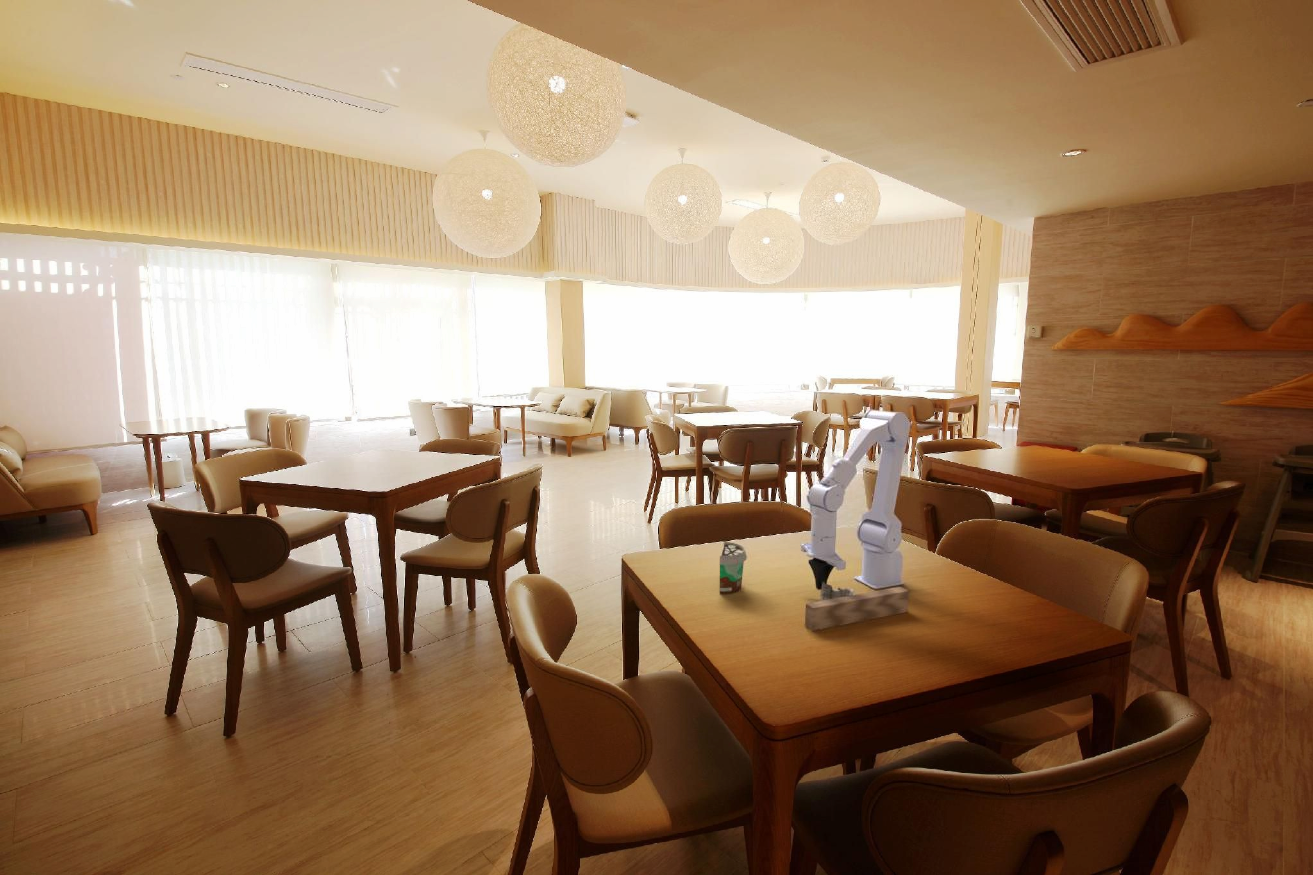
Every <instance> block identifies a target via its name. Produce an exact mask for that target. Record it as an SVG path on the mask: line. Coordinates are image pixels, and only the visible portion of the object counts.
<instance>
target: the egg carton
mask: <svg viewBox="0 0 1313 875" xmlns="http://www.w3.org/2000/svg"><path fill="white" fill-rule="evenodd" d="M819 595H820V596H819V597H820V601H824V600H829V599H835V598H840V597H846V596H852V595H856V594H855V589H852V588H851V589H850V588H844V589H843V588H841V587H837V589H833V586H832V585H831V584H829V583H827V585H826V584H825V583H824V582H823V583H822V589H821V590H820V594H819Z"/></svg>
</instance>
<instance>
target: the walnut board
mask: <svg viewBox="0 0 1313 875" xmlns="http://www.w3.org/2000/svg"><path fill="white" fill-rule="evenodd" d="M909 596H910V590H908V589H907V588H904V587H902V586H897V587H891V588H886V589H881V590H876V591H875V590H874V591H870V592H864V593H858V594H855V595H852V596H846V597H840V598H835V599H829V600H824V601H821V600H818V601H812V602H807V603H805V615H804V626H805V627H806V628H807V629H809V630H810V629H811V630H810V631H813V632H814V631H818V630H817V629H819V630H823V628H824V629H829V628H834V627H837V626H838V627H839V626H842V625H848V624H853V623H857V622H858V623H859V622H862V621H868V620H873V619H878V618H883V617H889V616H894V615H898V614H904V613H907V612H908V611H909Z"/></svg>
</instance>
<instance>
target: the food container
mask: <svg viewBox="0 0 1313 875" xmlns="http://www.w3.org/2000/svg"><path fill="white" fill-rule="evenodd" d="M747 558H748V556H747V552H746V550H745V547H744V546H742V545H740V544H739V543H735V542H731V541H723V549H722V552H721V555H719V595H731V594H736V593H738V592H740V591H741V590H742V583H743V573H744V565H745V562H746V560H747Z"/></svg>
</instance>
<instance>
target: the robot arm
mask: <svg viewBox="0 0 1313 875" xmlns="http://www.w3.org/2000/svg"><path fill="white" fill-rule="evenodd" d="M910 429H911V422H910V420H909V418H908V417H907V414H906V413H904V412H901V411H897V412H895V411H887V410H886V411H885V410H876V409H871V408H870V409H868V410H867V411H865V413H864V414H863V416H862V418H861V419H860V421H859V430H858V433H857V434H856V436H855V437H854V439H853V441H852V442H851V444H850V446H849V448H848V449H847V450H846V452H845V454H844V456H843V457H841V458H838V459H837V458H836V459H835V460H834V461H833V462H832V464H831V466H830V467H829V469H828V470H827V471H826V473H825V474H824V476H823V477H822V478H821V480H820V481H819V482H817V483H816V484H814V485H812V486H811V487H810V488H809V490H808V493H807V494H806V501H807V503H808V504H809V511H810V513H811V521H810V522H811V524H810V526H811V527H810V543H809V542H804V543H803V542H802V543H800V546H801V547H800V551H801V552H803V553H806V557H808V558H811V559H808V564H809V566H810V568H811V570H812V573H813V577H814V582H815V588H816V590H818V591H821V589H822V583H823V582H824V583H825V584H826V585H827V584H828V579H829V577H830V574H831V573H832V571H833V569H834V568H835V569H836V570H837V571H843V570H846V566H847V561H846V560H844V559H843V558H842V557H841V556H839V554H838V553H837V552H836V543H837V542H836V540H837V539H836V538H837V516H838V510H839V509H840V508H841V507H842V505H843V503H844V498H845V495H846V489H847V488H848V486H849V485H850V484H851V482H852V481H853V479H854V478H855V476H856V475H857V473H858V471H857V465H858V464H859V463H860V461H861V460H862V459H863V458H864V457H865V455H866V454H867V453H868V451H870V449H871V448H872V447H873V445H874V444H875V443H878V445H879V446H880V447H881V455H880V460H879V465H878V466H879V467H878V471H877V474H876V475H877V476H876V482H875V485H874V491H873V498H872V503H871V508H870V509H869V510H868V511H865V512H864V513H863V514H862V516H861V520H860V523H859V524H858V526H857V529H856V536H857V539H858V541H860V546H861V547H862V562H861V563H862V564H861V565H862V567H861V575H855V576H854V577H853V579H855V580H857V581H859V582H860V583H863V584H864V585H867V586H868V587H870V588H873V589H875V590H877V589H883V588H889V587H894V586H900V585H904V584H905V582H904V581H903V580H902V578H903V566H904V565H903V563H904V561H903V560H904V558H903V555H902V552H901V550H900V549H899V548H900V546H901V544H902V540H903V537H902V536H903V535H902V525H903V524H902V522H901V520H900V519H899V518H898V517H897V515H896V514H895V508H896V503H897V498H898V492H899V487H900V481H901V475H902V470H903V464H904V459H905V454H906V450H907V449H906V447H907V446H908V439H909V435H910V434H909V433H910Z"/></svg>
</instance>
